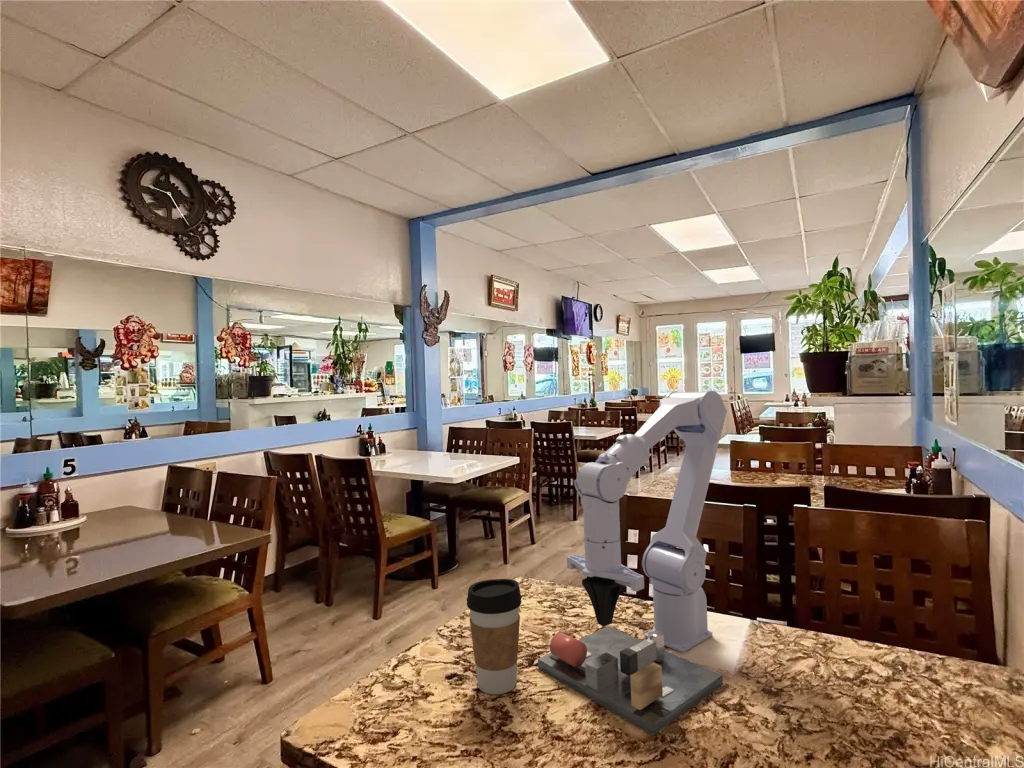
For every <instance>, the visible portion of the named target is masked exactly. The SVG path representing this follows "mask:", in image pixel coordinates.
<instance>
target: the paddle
mask: <svg viewBox="0 0 1024 768" xmlns="http://www.w3.org/2000/svg"><path fill="white" fill-rule="evenodd" d="M630 679H631V706H633V707H635V708H637V709H639V710H641V709H643V708H644V707H646V706H647V705H649V704H650V703H652V702H653V701H655V700H656V699H658V698H659V697H661V696H663V689H662V666H660V665H658V664H656V663H654V662H653V663H651V664H649V665H648V666H646V667H644V668H642V669H641V670H639V671H637V672H635V673H634V674H632V675H630Z"/></svg>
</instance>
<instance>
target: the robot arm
mask: <svg viewBox="0 0 1024 768" xmlns="http://www.w3.org/2000/svg"><path fill="white" fill-rule="evenodd" d="M727 412H728V411H727V408H726V406H725V402H724V400H723V397H722V396H721V394H719V393H718V392H717V391H716V390H706V391H674V390H673V391H671V392H667V394H666V395H665V397H663V398H661V399H660V400H659V403H658V408H657V409H656V411H654V413H653V414H652V415H650V417H649V418H648V419H647V420H646V421H645V422H644V423H643V424H642V426H641V427H640V428H639V429H638V430H637V431H636V432H635V433H634V434H631V433H626V434H624V435H623V434H619V435H618V436H617V437H616V439H615V441H616V442H615V443H614V444H613V445H611V446H610V447H609V448H608V449H607V450H606V451H605V452H604V453H601V454H599V455H598V458H597V459H596V460H595V462H593V461H591V462H587V463H585V464H583V465H582V466H581V468H579V470H578V472H577V475H576V479H574V480H573V484H574V487H575V490H576V491H577V493H578V494H579V497H580V505H582V508H583V509H582V513H583V516H582V517H583V537H584V538H583V541H584V556H583V555H579V554H571V555H569V556H567V557H566V567H567V569H569V570H578V571H580V572H582V575H583V576H585V578H582V580H581V586H582V587H583V588H584V591H586V593H587V595H588V597H589V600H590V603H591V605H592V607H593V611H594V615H595V618H596V622H597V624H598V625H599V626H602V627H607V626H609V625H611V624H612V623H613V620H614V615H615V610H616V606H617V603H618V601H619V597H620V595H621V593H622V591H623V589H624V587H628V588H630V590H631V591H633V592H639V591H641V590H644V589H645V576H644V575H642V574H640V573H637V572H635V570H632V569H631V568H628V567H627V566H625V565H623V564H622V554H621V553H622V552H621V527H620V525H621V521H620V499H621V498H623V497H624V495H625V493H626V491H627V488H628V484H629V482H630V481H631V480H630V479H631V477H632V476H634V475H635V474H636V473H637V471H639V470H640V469H641V468H642V467H643V466H644V465H645V464H646V463H647V462H648V461H649V459H650V449H651V448H653V447H654V446H655V445H656V444H657V443H659V442H660V441H662V439H664V438H665V437H666V436H667V435H668V434H669V433H672V431H674V432H675V434H676V435H677V436H678V437H679V438H680V439H682V440H683V442H684V444H685V449H684V452H683V457H682V461H681V465H680V469H679V472H678V476H677V480H676V485H675V488H674V492H673V496H672V500H671V504H670V508H669V512H668V516H667V519H666V524H665V527H664V528H662V529H659V530H658V531H657V532H655V533H653V534H652V536H651V539H650V543H649V545H648V546H647V547H646V549H645V551H644V553H643V555H642V556H643V557H642V560H641V567H642V570H643V573H644V574H645V575H646V576H647V577H648V578H649V584H650V585H651V586H652V598H653V602H652V603H653V625H654V628H653V629H651V630H650V629H649V631H647V632H645V633H643V635H644V637H645V638H646V639H648V633H649V632H651V631H659V632H662V633H663V634H664V647H665V646H666V647H668V648H669V649H673V650H675V651H678V652H680V653H685V652H687V651H688V650H689V649H691V648H693V647H695V646H697V645H698V644H700V643H702V642H704V641H705V640H707V639H708V638H711V636H713V632H712V631H711V630H709V628H708V627H709V626H708V610H707V609H708V606H707V602H708V601H707V595H706V593H705V591H704V589H703V587H702V585H703V584H704V582H705V579H706V575H707V574H706V572H707V571H706V559H707V555H708V552H707V550H706V548H705V547H704V546H703V544H702V543H701V542H700V540H699V539H698V537H697V535H698V530H699V527H700V521H701V519H702V518H701V517H702V513H703V509H704V506H705V501H706V497H707V492H708V489H709V485H710V481H711V475H712V472H713V468H714V465H715V460H716V457H717V451H718V448H719V442H720V440H721V438H722V437H721V436H722V434H723V433H722V432H723V429H724V425H725V424H724V423H725V421H726V416H727ZM675 548H678V549H681V550H678V549H675ZM682 550H683V551H682Z"/></svg>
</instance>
